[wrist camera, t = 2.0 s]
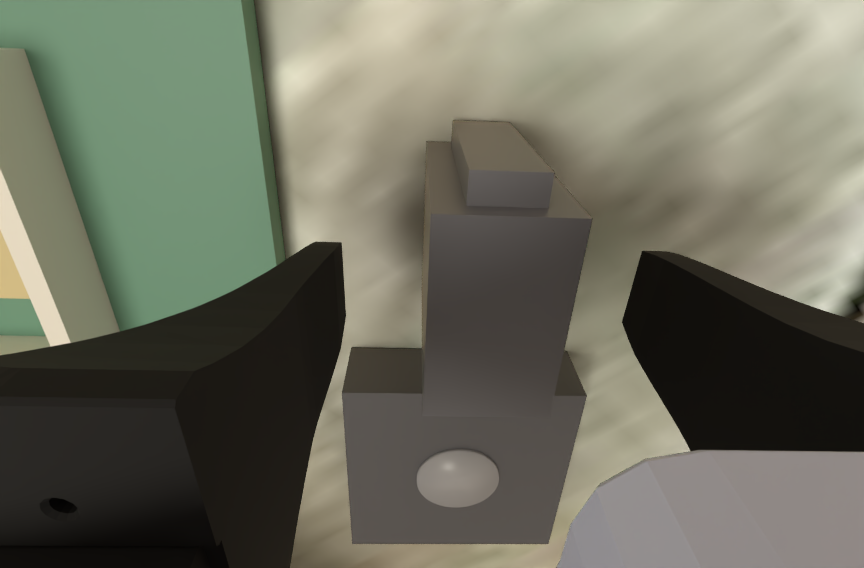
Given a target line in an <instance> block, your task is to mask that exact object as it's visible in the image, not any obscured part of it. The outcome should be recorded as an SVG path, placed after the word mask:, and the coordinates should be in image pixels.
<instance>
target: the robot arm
mask: <svg viewBox="0 0 864 568" xmlns="http://www.w3.org/2000/svg"><path fill="white" fill-rule="evenodd" d="M345 318H346V310H345V293H344V276H343V259H342V243H340V242H314V243H312V244H310V245H308V246H307V247H305V248H303V249H302V250H300V251H299V252H297V253H296V254H294V255H293V256H291V257H289V258H288V259H286V260H285V261H283V262H282V263H280V264H278V265H277V266H275V267H274V268H272V269H271V270H269V271H267V272H266V273H264V274H262V275H260V276H258V277H257V278H255V279H253V280H251V281H250V282H248V283H246V284H244V285H242V286H241V287H239V288H237V289H235V290H233V291H231V292H229V293H227V294H225V295H223V296H221V297H218V298H216V299H214V300H211V301H209V302H207V303H204V304H202V305H200V306H197V307H195V308H192V309H189V310H186V311H184V312H181V313H178V314H175V315H172V316H169V317H166V318H163V319H160V320H157V321H154V322H151V323H148V324H145V325H142V326H138V327H134V328H131V329H127V330H124V331H120V332H116V333H112V334H108V335H104V336H99V337H95V338H91V339H87V340H82V341H77V342H73V343H67V344H62V345H56V346H51V347H45V348H40V349H34V350H29V351H23V352H18V353H12V354H5V355H0V568H290V563H291V557H292V551H293V545H294V539H295V533H296V526H297V521H298V515H299V510H300V504H301V499H302V493H303V488H304V482H305V477H306V472H307V467H308V462H309V456H310V451H311V446H312V441H313V437H314V434H315V430H316V426H317V422H318V419H319V416H320V413H321V410H322V407H323V404H324V400H325V397H326V394H327V391H328V388H329V385H330V382H331V378H332V375H333V372H334V369H335V366H336V362H337V359H338V356H339V352H340V349H341V343H342V337H343V331H344V325H345ZM622 323H623V326H624V329H625V331H626V334H627V337H628V340H629V342H630V344H631V347H632V349H633V352H634V354H635V356H636V358H637V359H638V361H639V363H640V365H641V366H642V368H643V370H644V372H645V373H646V375H647V377H648V378H649V380H650V382H651V383H652V385H653V387H654V388H655V390H656V392H657V393H658V395H659V397H660V398H661V400H662V402H663V403H664V405H665V407H666V408H667V410H668V412H669V413H670V415H671V416H672V418H673V420H674V421H675V423H676V425H677V426H678V428H679V430H680V432H681V434H682V435H683V437H684V439H685V441H686V443H687V445H688V447H689V449H690V452H684V453H678V454H672V455H666V456H659V457H653V458H647V459H644V460H642V461H640V462H639V463H637V464H635V465H633V466H631V467H629V468H628V469H626V470H624V471H622V472H620V473H618V474H617V475H615V476H613V477H611V478H609V479H608V480H606V481H604V482H602V483H600V485H599V486H598V487H597V488H596V490H595V491H594V492H593V494H592V495H591V497H590V498H589V499H588V501H587V502H586V503H585V505H584V506H583V508H582V509H581V510H580V512H579V513H578V515H577V516H576V517H575V519H574V520H573V522H572V523H571V525H570V528H569V532H568V535H567V539H566V542H565V545H564V549H563V552H562V556H561V559H560V561H559V563H558V565H557V567H556V568H864V323H861V322H858V321H855V320H851V319H848V318H845V317H842V316H839V315H835V314H832V313H829V312H826V311H823V310H820V309H817V308H814V307H811V306H808V305H805V304H803V303H800V302H797V301H795V300H792V299H789V298H787V297H784V296H781V295H779V294H776V293H773V292H771V291H769V290H766V289H764V288H761V287H759V286H756V285H754V284H751V283H749V282H746V281H744V280H742V279H739V278H737V277H735V276H732V275H730V274H727V273H725V272H723V271H720V270H718V269H715V268H713V267H711V266H708V265H706V264H703V263H701V262H698V261H696V260H693V259H690V258H688V257H685V256H682V255H679V254H675V253H671V252H664V251H642V253H641V257H640V260H639V264H638V267H637V271H636V275H635V278H634V282H633V285H632V289H631V292H630V296H629V299H628V303H627V306H626V310H625V313H624V317H623V321H622Z"/></svg>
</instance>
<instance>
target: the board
mask: <svg viewBox="0 0 864 568" xmlns="http://www.w3.org/2000/svg"><path fill="white" fill-rule="evenodd" d="M285 260H286V259H285V251H284V243H283V235H282V226H281V218H280V210H279V202H278V194H277V186H276V177H275V169H274V161H273V153H272V145H271V137H270V128H269V120H268V112H267V104H266V96H265V88H264V79H263V71H262V63H261V55H260V47H259V39H258V30H257V22H256V14H255V6H254V0H0V355H5V354H12V353H18V352H23V351H29V350H34V349H40V348H45V347H51V346H56V345H62V344H67V343H73V342H77V341H82V340H87V339H91V338H95V337H99V336H104V335H108V334H112V333H116V332H120V331H124V330H127V329H131V328H134V327H138V326H142V325H145V324H148V323H151V322H154V321H157V320H160V319H163V318H166V317H169V316H172V315H175V314H178V313H181V312H184V311H186V310H189V309H192V308H195V307H197V306H200V305H202V304H204V303H207V302H209V301H211V300H214V299H216V298H218V297H221V296H223V295H225V294H227V293H229V292H231V291H233V290H235V289H237V288H239V287H241V286H242V285H244V284H246V283H248V282H250V281H251V280H253V279H255V278H257V277H258V276H260V275H262V274H264V273H266V272H267V271H269V270H271V269H272V268H274V267H275V266H277V265H278V264H280V263H282V262H283V261H285Z"/></svg>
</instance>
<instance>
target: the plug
mask: <svg viewBox="0 0 864 568" xmlns="http://www.w3.org/2000/svg"><path fill="white" fill-rule="evenodd" d="M554 174H555V172H554V171H553V170H552V169H551V168H550V167H549V166H548V165H547V163H546V162H545V161H544V160H543V159H542V158H541V157H540V156H539V154H538V153H537V152H536V151H535V150H534V149H533V148H532V147H531V145H530V144H529V143H528V142H527V141H526V140H525V139H524V138H523V136H522V135H521V134H520V133H519V132H518V131H517V130H516V129H515V127H514V126H513V125H512V124H511V123H510V122H487V121H460V120H453V124H452V141H451V142H435V141H426V169H425V199H424V229H423V260H422V410H423V416H448V417H531V418H550V413H551V408H552V404H553V399H554V394H555V390H556V385H557V381H558V376H559V371H560V367H561V362H562V357H563V353H564V348H565V344H566V339H567V334H568V330H569V325H570V321H571V316H572V311H573V307H574V302H575V297H576V293H577V288H578V284H579V279H580V274H581V270H582V265H583V260H584V256H585V251H586V247H587V242H588V237H589V233H590V228H591V223H592V218H591V216H590V215H589V214H588V213H587V212H586V211H585V210H584V208H583V207H582V206H581V205H580V204H579V203H578V202H577V200H576V199H575V198H574V197H573V196H572V195H571V194H570V192H569V191H568V190H567V189H566V188H565V187H564V186H563V184H562V183H561V182H560V181H559V180H558V179H557V178H556V176H555V175H554Z"/></svg>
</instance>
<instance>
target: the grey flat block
mask: <svg viewBox="0 0 864 568" xmlns="http://www.w3.org/2000/svg"><path fill="white" fill-rule="evenodd" d="M586 397H587V395H586V393H585V391H584V389H583V387H582V384H581V382H580V380H579V378H578V375H577V373H576V371H575V369H574V366H573V364H572V362H571V360H570V357H569V355H568V353H567V352H564V353H563V357H562V362H561V367H560V371H559V376H558V381H557V385H556V390H555V394H554V399H553V404H552V408H551V413H550V418H531V417H448V416H423V410H422V349H392V348H351V352H350V357H349V362H348V366H347V371H346V376H345V381H344V386H343V391H342V399H343V414H344V428H345V443H346V457H347V472H348V486H349V501H350V516H351V530H352V544H548V543H549V539H550V535H551V532H552V528H553V524H554V520H555V516H556V512H557V509H558V505H559V501H560V497H561V493H562V489H563V485H564V482H565V478H566V474H567V470H568V466H569V462H570V459H571V455H572V451H573V447H574V443H575V439H576V435H577V432H578V428H579V424H580V420H581V416H582V412H583V409H584V405H585V401H586Z"/></svg>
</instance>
